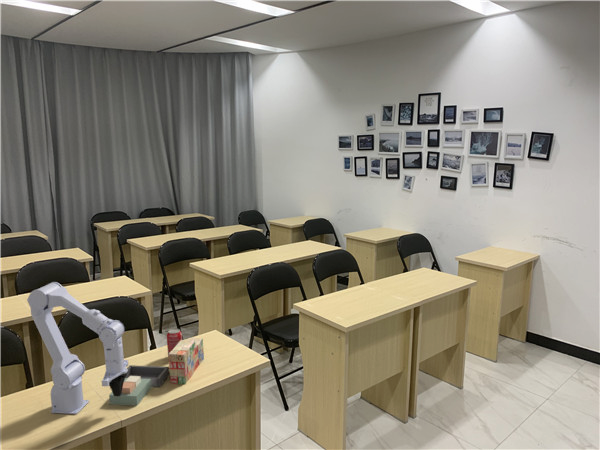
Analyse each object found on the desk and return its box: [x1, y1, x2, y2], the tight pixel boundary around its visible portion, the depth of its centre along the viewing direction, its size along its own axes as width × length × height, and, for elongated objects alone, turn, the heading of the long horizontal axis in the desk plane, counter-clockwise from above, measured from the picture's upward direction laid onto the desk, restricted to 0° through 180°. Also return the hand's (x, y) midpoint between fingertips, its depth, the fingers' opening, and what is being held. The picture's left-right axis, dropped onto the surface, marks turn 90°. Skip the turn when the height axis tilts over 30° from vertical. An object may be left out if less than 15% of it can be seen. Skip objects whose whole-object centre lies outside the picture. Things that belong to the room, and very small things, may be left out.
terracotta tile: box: [122, 382, 135, 394], centre depth 162 cm, size 4×4×2 cm
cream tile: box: [125, 376, 141, 387], centre depth 167 cm, size 4×4×2 cm
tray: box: [125, 364, 170, 388], centre depth 176 cm, size 16×10×3 cm, turn 85°
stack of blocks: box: [168, 337, 205, 385], centre depth 183 cm, size 21×6×12 cm, turn 173°
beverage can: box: [166, 328, 183, 359], centre depth 194 cm, size 6×6×12 cm
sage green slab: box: [108, 378, 153, 406], centre depth 165 cm, size 10×12×4 cm
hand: (117, 395), depth 155 cm, fingers closed
